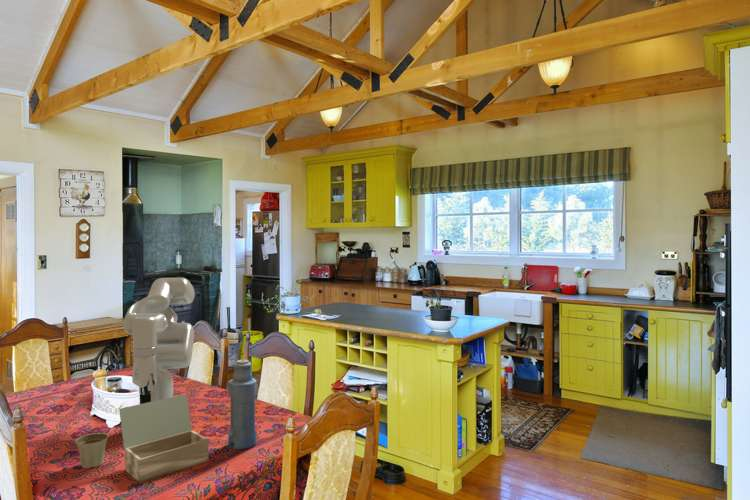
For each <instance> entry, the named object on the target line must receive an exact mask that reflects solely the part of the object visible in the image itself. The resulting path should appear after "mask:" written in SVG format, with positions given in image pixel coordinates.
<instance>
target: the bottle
mask: <svg viewBox="0 0 750 500" xmlns="http://www.w3.org/2000/svg"><path fill="white" fill-rule="evenodd" d="M233 368H234V369H233V378H232V379H230V380H229V381H228V394H229V396H230V427H229V430H228V438H227V439H228V447H229V448H231V449H233V450H245V449H250V448H252V447H254V446H255V445H256V444H257V441H258V440H257V435H258V433H257V431H256V426H255V425H256V420H255V419H256V417H255V416H256V406H255V405H256V395H257V391H258V390H257V379H255V378H254V377H253V374H252V363H251V362H250V361H249V360H248V359H238V360H237V361H236V362H234V364H233Z"/></svg>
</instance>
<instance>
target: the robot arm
mask: <svg viewBox="0 0 750 500" xmlns="http://www.w3.org/2000/svg"><path fill="white" fill-rule="evenodd" d="M148 292H149V293H148V294H147V297H143V298H142V299H140V300H138V301H136V302H134V303H133V304H132V305H131V306H130V307H128V310H127V312H126V314H125V316H124V320H123V325H122V326H123V330H124V332H125V333H126V334H127V335H131V336H132V358H133V362H132V378H131V380H132V383H133V385H135V386H137V387H138V393H139V404H143V403H148V402H152V401H157V400H161V399H166V398H170V397H174V379H173V376H172V374H171V373H170V371H169V370H170V369H185V368H188V367H189V366H190V365H191V362H192V358H193V350H194V343H195V342H194V341H195V330H194V326H193V325H192V324H191V323H189V322H178V314H177V313H176V312H175V311H174V310H173V309H172V308H171V307H170V305H171V306H172V305H190V304H192V303H193V301H194V300H195V296H196V295H195V292H196V291H195V288H194V286H193V285H192V284H191V281H190V280H189V279H187V278H185V277H160V278H157V279H155V280H154V281H153V282H152V284H151V287H150V289H149V291H148ZM166 369H167V370H166Z"/></svg>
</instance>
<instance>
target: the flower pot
mask: <svg viewBox="0 0 750 500" xmlns="http://www.w3.org/2000/svg"><path fill="white" fill-rule="evenodd" d="M109 437H110V436H109V434H108V433H105V432H97V433H88V434H85V435H82V436H80V437H78V438H77V439H75V442H74V443H75V444H76V446H77V448H78V452H79V458H80V466H81V468H82V469H91V468H97V467H100V466H101V465H103V464H104V461H105V452H106V444H107V442H108V438H109Z"/></svg>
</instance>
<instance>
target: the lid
mask: <svg viewBox="0 0 750 500" xmlns="http://www.w3.org/2000/svg"><path fill="white" fill-rule="evenodd" d="M118 410H119V411H118V412H119V417H120V427H121V428H120V429H121V433H122V434H121V435H122V436H121V437H122V443H123V449H124V450H125V448H129V447H132V446H136V445H140V444H143V443H147V442H150V441H154V440H158V439H161V438H165V437H169V436H172V435H176V434H180V433H183V432H187V431H190V430H193V429H192V427H193V426H192V422H191V415H190V414H191V412H190V409H189V400H188V394H187V393H185V394H180V395H176V396H173V397H170V398H166V399H161V400H157V401H152V402H148V403H143V404H140V403H138V404H134V405H131V406H126V407H122V408H119V409H118Z"/></svg>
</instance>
